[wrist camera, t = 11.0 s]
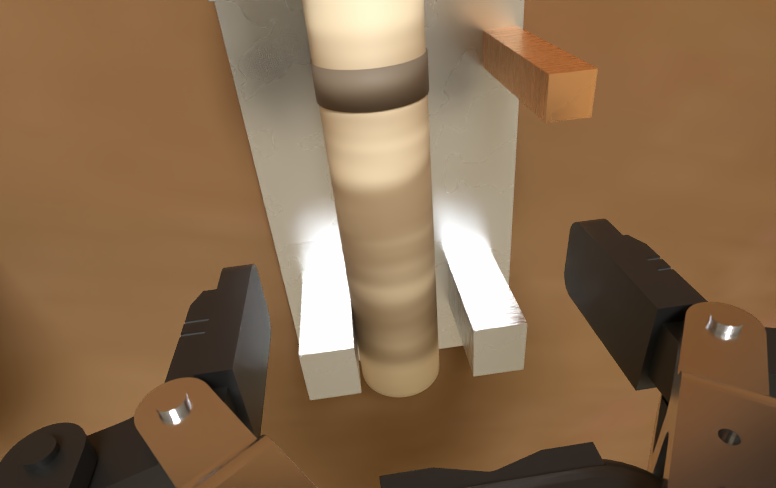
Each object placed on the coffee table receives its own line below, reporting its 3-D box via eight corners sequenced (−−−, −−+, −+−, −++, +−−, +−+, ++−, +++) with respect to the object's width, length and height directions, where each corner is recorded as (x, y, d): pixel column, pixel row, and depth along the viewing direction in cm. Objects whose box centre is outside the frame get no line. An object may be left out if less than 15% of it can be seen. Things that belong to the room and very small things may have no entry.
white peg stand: (305, 353, 26) (300, 481, 20) (163, -234, 14) (44, -352, 8) (499, 325, 26) (551, 443, 20) (526, -265, 14) (673, -399, 8)
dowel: (434, 334, 24) (446, 393, 21) (360, 342, 24) (362, 402, 21) (407, -217, 14) (425, -256, 10) (273, -203, 13) (252, -239, 10)
